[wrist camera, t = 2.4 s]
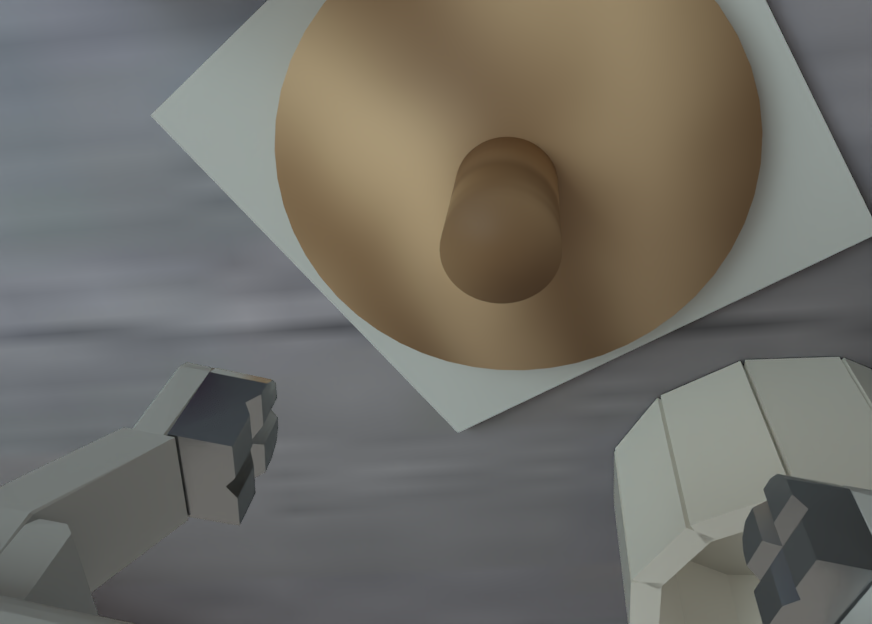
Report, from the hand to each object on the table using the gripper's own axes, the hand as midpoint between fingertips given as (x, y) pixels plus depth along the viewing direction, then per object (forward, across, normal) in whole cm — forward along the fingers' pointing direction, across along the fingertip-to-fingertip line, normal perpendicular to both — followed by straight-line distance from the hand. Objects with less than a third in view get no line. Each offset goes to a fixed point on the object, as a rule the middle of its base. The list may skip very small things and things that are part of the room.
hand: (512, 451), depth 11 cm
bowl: (+12, -12, +11) cm, 21 cm away
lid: (+12, +1, 0) cm, 12 cm away
